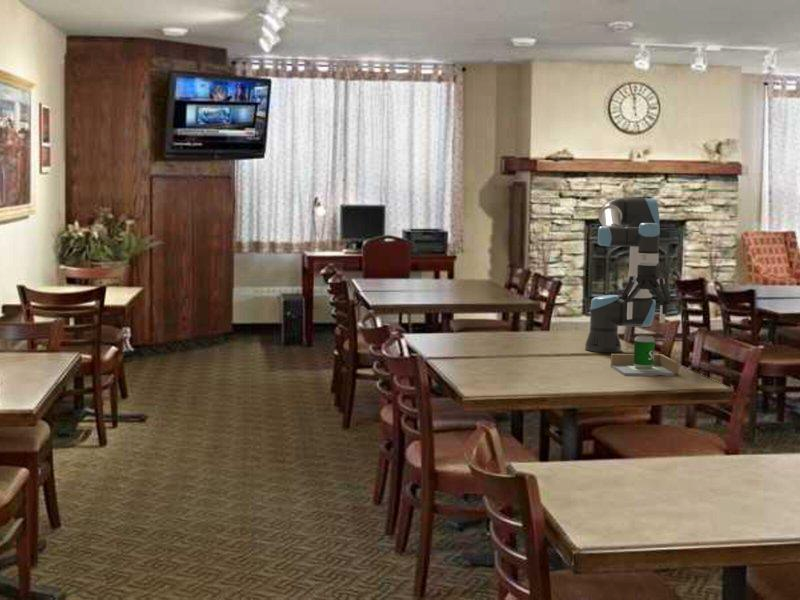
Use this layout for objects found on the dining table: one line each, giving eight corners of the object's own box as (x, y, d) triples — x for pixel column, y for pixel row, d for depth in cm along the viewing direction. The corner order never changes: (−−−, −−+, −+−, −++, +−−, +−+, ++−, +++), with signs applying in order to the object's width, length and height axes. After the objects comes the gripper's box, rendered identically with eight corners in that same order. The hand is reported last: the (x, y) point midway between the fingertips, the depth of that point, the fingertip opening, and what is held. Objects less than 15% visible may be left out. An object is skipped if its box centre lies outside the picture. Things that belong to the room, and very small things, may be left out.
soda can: (643, 370, 395) (645, 338, 394) (629, 367, 401) (630, 335, 400) (658, 368, 399) (659, 336, 398) (643, 365, 405) (644, 334, 404)
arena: (610, 366, 409) (611, 353, 409) (661, 366, 411) (662, 354, 410) (624, 375, 390) (625, 362, 389) (678, 375, 391) (678, 362, 390)
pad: (627, 366, 405) (627, 365, 405) (652, 366, 405) (652, 365, 405) (634, 370, 395) (634, 370, 395) (660, 370, 395) (660, 370, 395)
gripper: (613, 262, 401) (611, 318, 404) (673, 267, 385) (671, 325, 387) (623, 261, 407) (621, 316, 409) (683, 266, 391) (680, 323, 393)
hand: (645, 321), depth 398 cm, fingers open, 13 cm apart
